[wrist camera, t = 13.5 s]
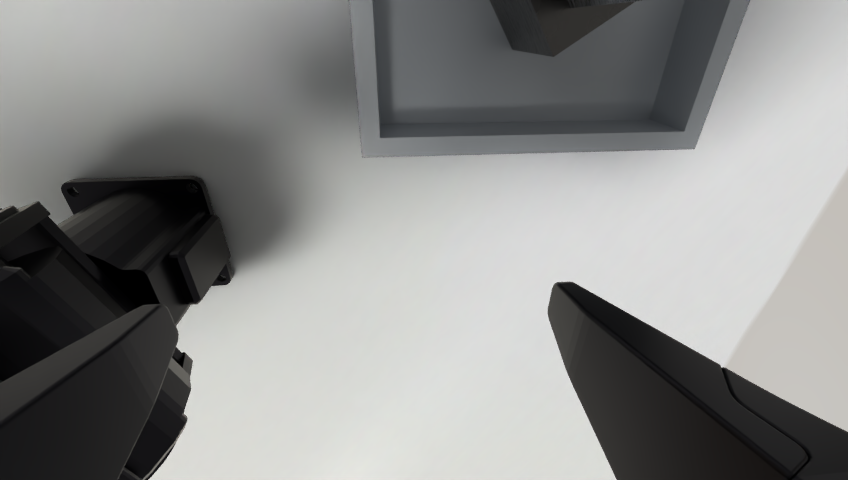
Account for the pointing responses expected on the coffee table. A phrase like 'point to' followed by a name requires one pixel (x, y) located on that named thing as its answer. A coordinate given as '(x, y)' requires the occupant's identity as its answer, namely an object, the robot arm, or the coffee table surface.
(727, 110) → the coffee table surface
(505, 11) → the strut
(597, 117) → the bin
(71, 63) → the coffee table surface
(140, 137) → the coffee table surface
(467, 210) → the coffee table surface
